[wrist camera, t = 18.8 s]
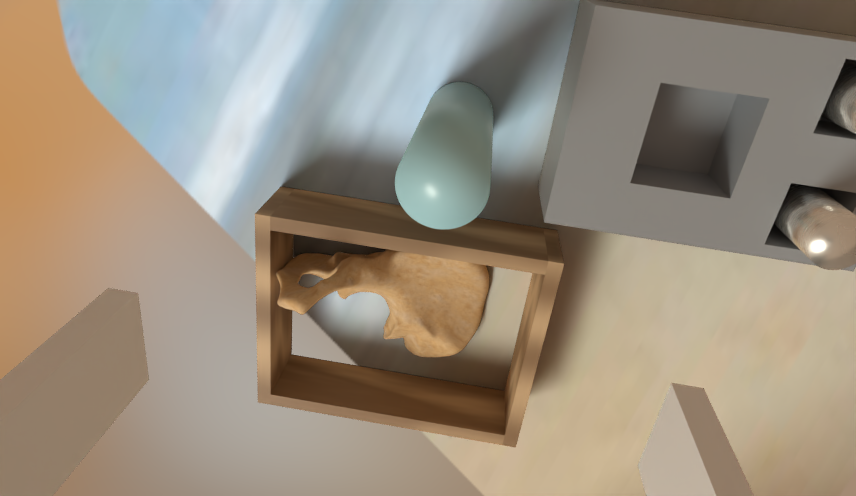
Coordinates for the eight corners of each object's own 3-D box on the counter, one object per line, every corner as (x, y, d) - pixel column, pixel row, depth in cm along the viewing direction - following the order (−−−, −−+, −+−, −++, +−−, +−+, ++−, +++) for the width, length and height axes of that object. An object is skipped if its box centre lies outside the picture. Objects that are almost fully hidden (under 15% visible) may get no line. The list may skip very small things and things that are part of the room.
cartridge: (498, 86, 37) (498, 146, 26) (487, 152, 39) (482, 235, 28) (430, 77, 37) (399, 132, 26) (422, 143, 39) (390, 222, 28)
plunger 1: (803, 226, 36) (856, 273, 30) (754, 218, 36) (798, 264, 31) (824, 181, 34) (884, 222, 29) (773, 173, 35) (823, 213, 29)
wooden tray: (514, 402, 48) (515, 447, 44) (279, 361, 49) (257, 402, 45) (557, 230, 41) (564, 263, 37) (280, 186, 42) (255, 213, 37)
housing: (804, 228, 39) (853, 271, 34) (538, 186, 40) (544, 222, 34) (892, 41, 33) (966, 57, 28) (580, -3, 34) (595, 5, 29)
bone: (354, 154, 38) (533, 276, 41) (327, 199, 48) (475, 296, 50) (264, 287, 35) (468, 412, 37) (254, 308, 44) (418, 407, 46)
